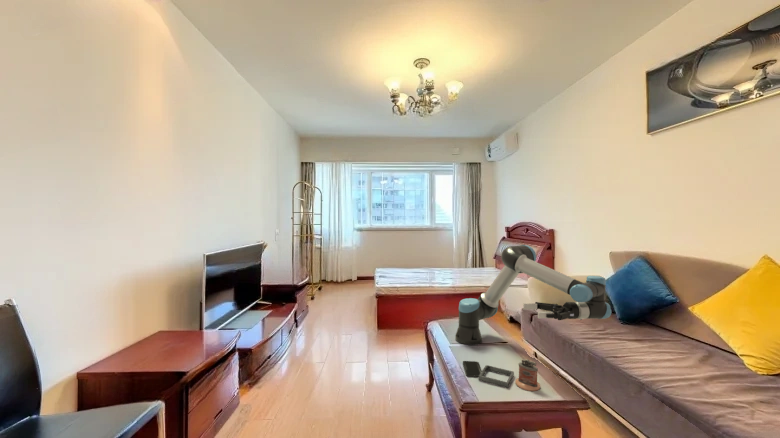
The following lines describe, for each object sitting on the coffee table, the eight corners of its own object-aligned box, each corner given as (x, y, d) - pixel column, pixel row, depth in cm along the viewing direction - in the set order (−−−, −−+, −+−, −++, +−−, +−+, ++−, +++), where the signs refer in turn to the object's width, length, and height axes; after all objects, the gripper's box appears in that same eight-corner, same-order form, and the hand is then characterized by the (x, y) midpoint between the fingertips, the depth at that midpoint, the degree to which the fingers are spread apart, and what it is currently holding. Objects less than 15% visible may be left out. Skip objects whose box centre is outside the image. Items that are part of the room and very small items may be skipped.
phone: (478, 361, 165) (483, 376, 151) (478, 363, 166) (483, 378, 151) (462, 360, 166) (465, 375, 151) (462, 363, 166) (465, 377, 151)
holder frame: (486, 369, 159) (486, 364, 159) (513, 376, 153) (513, 371, 153) (478, 380, 148) (478, 375, 148) (508, 388, 142) (508, 383, 142)
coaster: (517, 377, 152) (517, 375, 152) (541, 383, 146) (541, 381, 146) (513, 386, 143) (513, 385, 143) (538, 393, 138) (538, 391, 138)
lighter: (516, 381, 146) (517, 358, 146) (520, 378, 149) (520, 356, 149) (535, 388, 141) (536, 364, 141) (538, 385, 143) (539, 362, 143)
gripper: (593, 327, 142) (545, 328, 140) (559, 310, 166) (518, 311, 165) (593, 310, 141) (545, 310, 140) (559, 295, 166) (518, 295, 165)
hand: (530, 310), depth 152 cm, fingers open, 13 cm apart
